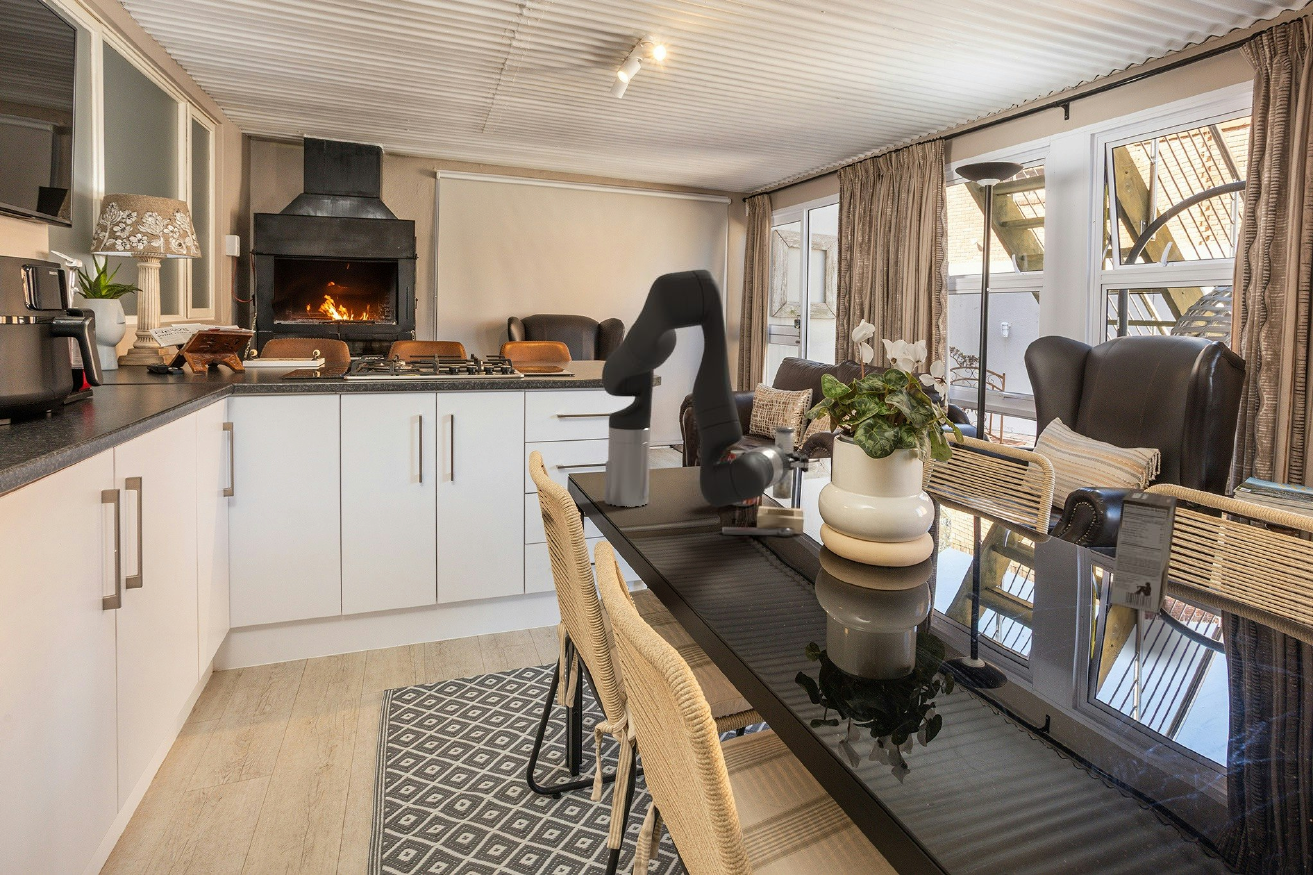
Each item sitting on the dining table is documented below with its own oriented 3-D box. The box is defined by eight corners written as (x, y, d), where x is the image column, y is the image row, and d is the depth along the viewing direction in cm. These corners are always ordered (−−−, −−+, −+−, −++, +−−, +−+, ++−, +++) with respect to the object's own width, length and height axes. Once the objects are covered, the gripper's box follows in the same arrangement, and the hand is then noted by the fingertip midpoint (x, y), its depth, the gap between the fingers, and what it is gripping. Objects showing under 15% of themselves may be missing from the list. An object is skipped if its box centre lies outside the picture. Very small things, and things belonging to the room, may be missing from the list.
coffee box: (1118, 588, 120) (1129, 489, 118) (1166, 598, 116) (1179, 495, 114) (1108, 603, 113) (1120, 498, 111) (1159, 614, 109) (1172, 505, 107)
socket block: (756, 530, 149) (757, 516, 149) (758, 520, 158) (759, 506, 158) (802, 534, 148) (803, 519, 147) (802, 523, 157) (802, 508, 156)
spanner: (724, 535, 145) (724, 529, 145) (721, 530, 149) (722, 524, 149) (795, 536, 146) (795, 530, 146) (791, 531, 149) (791, 526, 149)
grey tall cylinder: (772, 498, 150) (775, 428, 149) (772, 494, 154) (775, 426, 152) (791, 499, 150) (795, 429, 148) (791, 495, 153) (794, 427, 152)
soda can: (720, 501, 175) (722, 450, 173) (746, 499, 178) (748, 449, 176) (735, 508, 168) (738, 455, 167) (762, 506, 171) (765, 453, 170)
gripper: (801, 450, 135) (823, 440, 150) (726, 443, 141) (754, 434, 156) (799, 491, 136) (821, 477, 151) (725, 483, 141) (753, 470, 157)
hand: (787, 455), depth 153 cm, fingers closed on grey tall cylinder, 3 cm apart
